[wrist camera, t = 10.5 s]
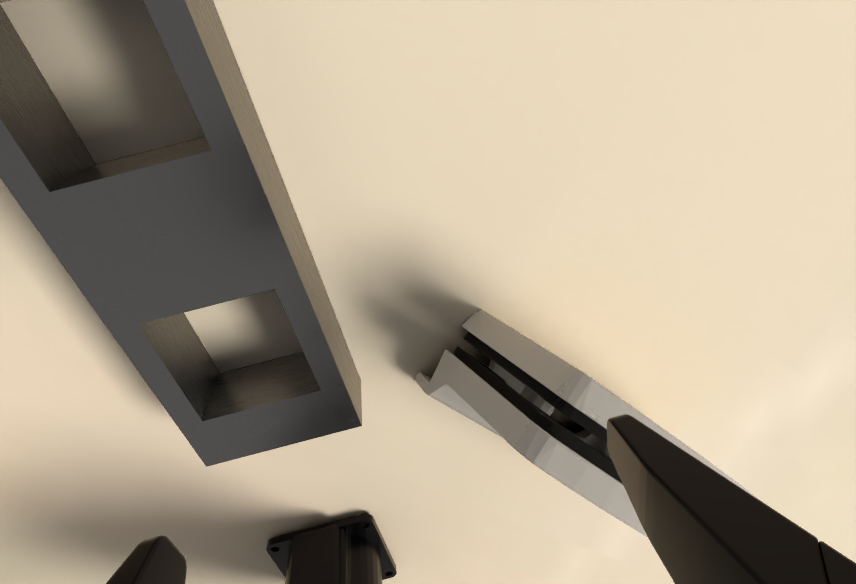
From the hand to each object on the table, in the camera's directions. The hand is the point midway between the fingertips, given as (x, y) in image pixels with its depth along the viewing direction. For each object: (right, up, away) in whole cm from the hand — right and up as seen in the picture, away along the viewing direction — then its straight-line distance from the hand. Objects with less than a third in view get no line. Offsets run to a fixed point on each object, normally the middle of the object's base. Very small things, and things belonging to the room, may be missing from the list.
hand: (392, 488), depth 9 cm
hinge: (+8, -2, +17) cm, 19 cm away
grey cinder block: (-8, +7, +9) cm, 14 cm away
